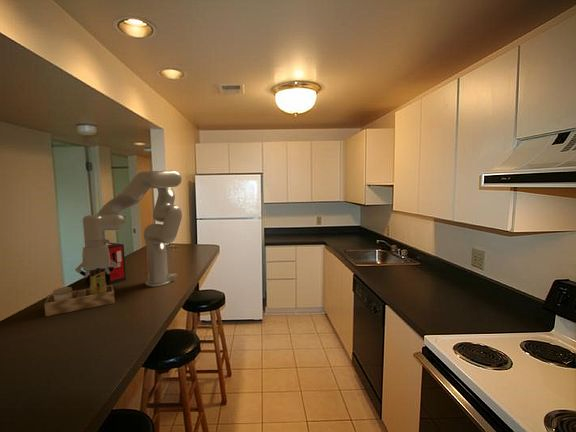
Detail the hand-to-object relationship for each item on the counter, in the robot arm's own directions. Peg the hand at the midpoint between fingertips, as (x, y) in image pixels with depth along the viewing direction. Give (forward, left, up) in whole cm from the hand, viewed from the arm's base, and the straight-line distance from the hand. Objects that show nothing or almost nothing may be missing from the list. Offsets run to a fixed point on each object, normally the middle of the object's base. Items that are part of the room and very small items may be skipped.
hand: (98, 283), depth 130 cm
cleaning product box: (-5, -34, -9) cm, 36 cm away
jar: (+13, 0, -8) cm, 15 cm away
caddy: (+6, 0, -9) cm, 11 cm away
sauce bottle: (0, 0, -7) cm, 7 cm away
